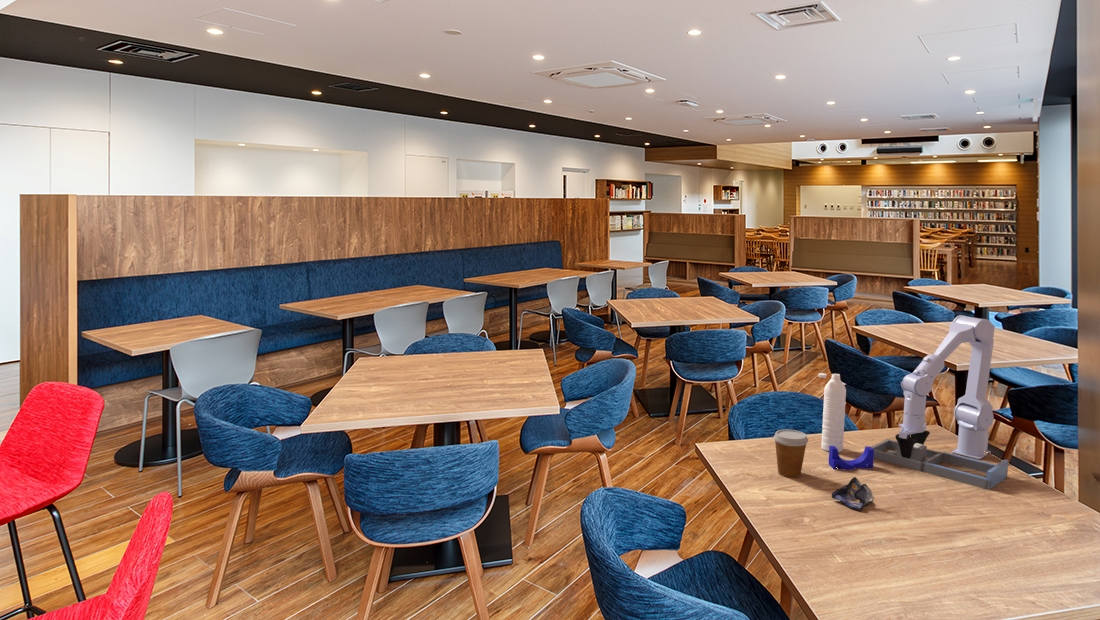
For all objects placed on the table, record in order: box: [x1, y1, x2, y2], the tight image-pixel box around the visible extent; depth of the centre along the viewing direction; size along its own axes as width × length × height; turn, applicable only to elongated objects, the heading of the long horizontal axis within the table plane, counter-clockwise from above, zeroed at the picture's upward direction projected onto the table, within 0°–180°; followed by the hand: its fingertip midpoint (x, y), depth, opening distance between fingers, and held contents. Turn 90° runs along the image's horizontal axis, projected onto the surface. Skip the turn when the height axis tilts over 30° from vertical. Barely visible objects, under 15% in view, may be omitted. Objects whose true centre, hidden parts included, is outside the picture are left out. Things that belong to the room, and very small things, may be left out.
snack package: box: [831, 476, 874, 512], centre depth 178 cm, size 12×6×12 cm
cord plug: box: [886, 443, 928, 462], centre depth 208 cm, size 4×11×5 cm, turn 39°
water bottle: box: [817, 372, 847, 453], centre depth 216 cm, size 9×6×25 cm
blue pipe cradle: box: [828, 446, 875, 471], centre depth 202 cm, size 12×4×6 cm, turn 85°
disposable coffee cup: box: [773, 429, 809, 478], centre depth 197 cm, size 10×10×12 cm
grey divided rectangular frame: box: [870, 438, 1009, 490], centre depth 202 cm, size 14×34×5 cm, turn 39°
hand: (911, 455), depth 207 cm, fingers open, 7 cm apart
